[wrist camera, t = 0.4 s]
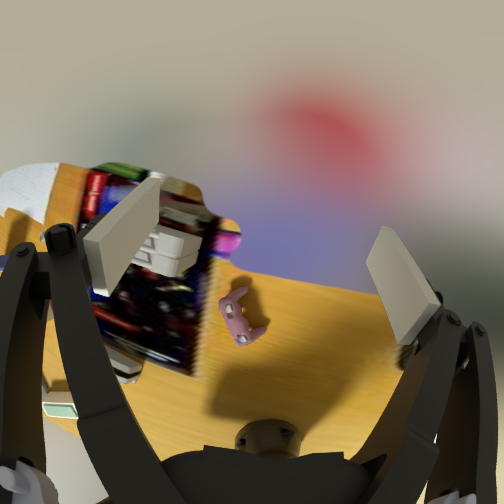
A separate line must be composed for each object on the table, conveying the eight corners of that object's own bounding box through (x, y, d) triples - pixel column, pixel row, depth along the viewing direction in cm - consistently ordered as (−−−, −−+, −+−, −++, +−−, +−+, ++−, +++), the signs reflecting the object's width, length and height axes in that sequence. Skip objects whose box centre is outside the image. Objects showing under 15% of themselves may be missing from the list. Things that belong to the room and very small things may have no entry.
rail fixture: (93, 406, 49) (82, 420, 42) (51, 405, 48) (40, 416, 42) (48, 298, 47) (31, 305, 40) (11, 309, 46) (-5, 315, 40)
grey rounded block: (74, 346, 48) (54, 349, 38) (81, 328, 49) (61, 328, 40) (137, 382, 49) (126, 394, 39) (145, 364, 50) (134, 372, 41)
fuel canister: (121, 241, 47) (35, 247, 22) (127, 215, 47) (44, 202, 22) (195, 264, 48) (153, 293, 23) (203, 237, 48) (166, 240, 23)
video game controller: (228, 289, 50) (209, 304, 44) (248, 282, 48) (231, 297, 42) (249, 334, 51) (234, 353, 45) (270, 329, 49) (256, 349, 43)
